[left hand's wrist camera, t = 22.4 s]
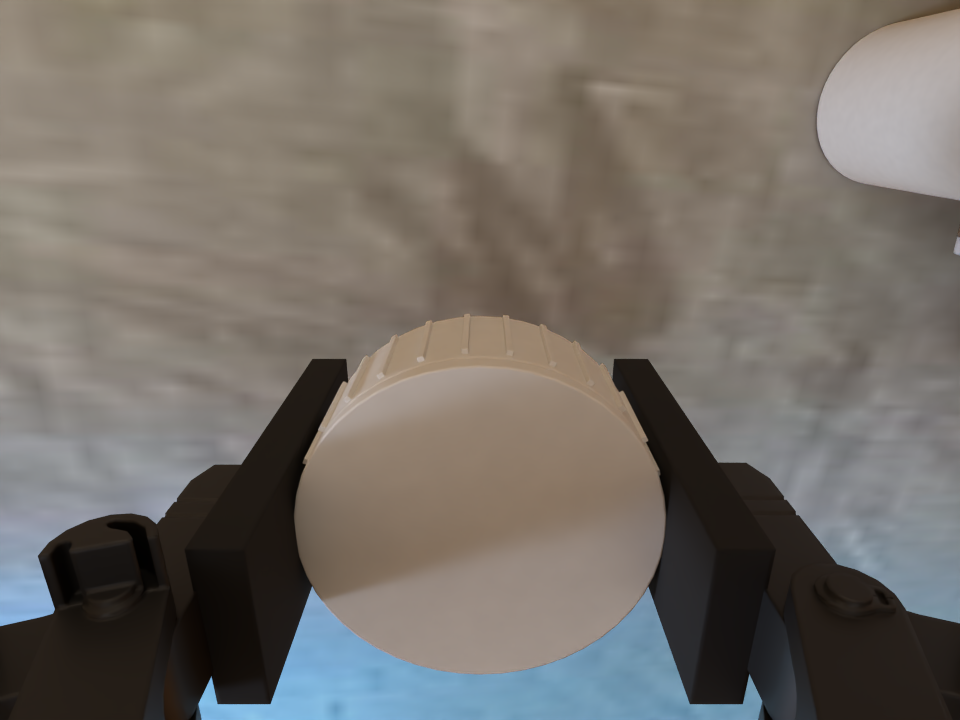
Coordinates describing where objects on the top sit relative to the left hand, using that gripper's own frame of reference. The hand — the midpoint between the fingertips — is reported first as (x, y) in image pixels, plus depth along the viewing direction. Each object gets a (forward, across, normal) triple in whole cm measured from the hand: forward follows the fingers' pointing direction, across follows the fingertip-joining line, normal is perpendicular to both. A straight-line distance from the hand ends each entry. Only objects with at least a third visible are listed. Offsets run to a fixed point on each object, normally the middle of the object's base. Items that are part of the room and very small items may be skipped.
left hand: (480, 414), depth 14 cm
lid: (-4, 0, 0) cm, 4 cm away
